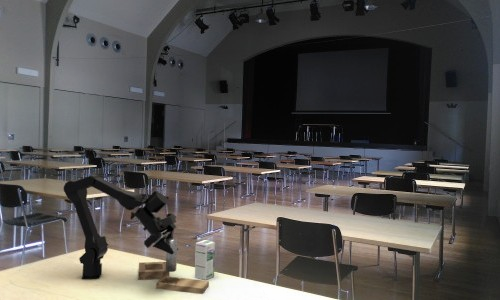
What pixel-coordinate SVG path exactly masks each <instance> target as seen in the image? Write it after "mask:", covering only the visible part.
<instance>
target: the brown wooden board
mask: <svg viewBox="0 0 500 300" xmlns="http://www.w3.org/2000/svg"><path fill="white" fill-rule="evenodd" d="M209 286H210V282H209V280H203V279H194V278H186V277H184V278H183V277H178V276H170V275H169V276H164V277H163V278H162V279H158V281H157V282H156V285H155V287H156V288H155V289H158V290H167V291H175V292H185V293H191V294H192V293H193V294H199V295H200V294H201V295H203V294H204V293H205V292H206V291H207V289H208V288H209Z"/></svg>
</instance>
